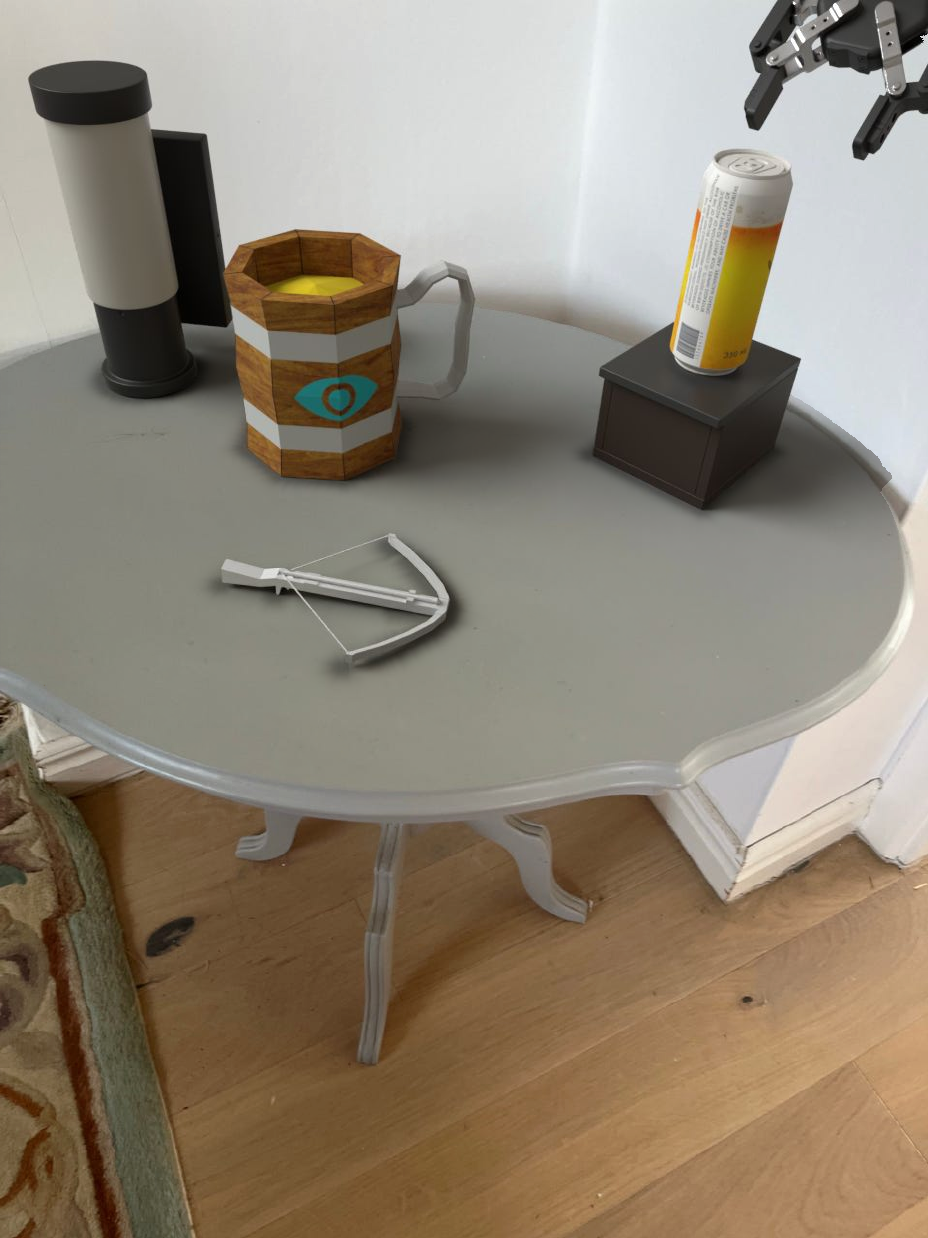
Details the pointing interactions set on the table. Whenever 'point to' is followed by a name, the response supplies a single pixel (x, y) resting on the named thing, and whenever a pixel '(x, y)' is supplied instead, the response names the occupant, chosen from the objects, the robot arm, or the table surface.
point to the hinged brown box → (686, 441)
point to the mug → (329, 349)
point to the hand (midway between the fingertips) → (803, 137)
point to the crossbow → (353, 594)
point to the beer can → (730, 259)
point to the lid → (697, 378)
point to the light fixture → (135, 221)
